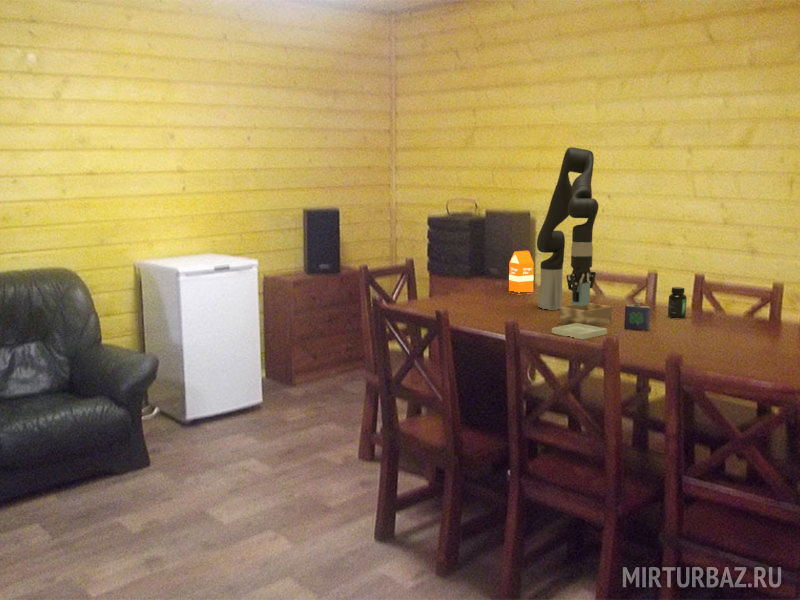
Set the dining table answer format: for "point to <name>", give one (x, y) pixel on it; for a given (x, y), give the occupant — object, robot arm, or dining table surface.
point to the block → (583, 294)
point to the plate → (579, 331)
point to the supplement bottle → (677, 303)
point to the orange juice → (521, 272)
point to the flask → (637, 317)
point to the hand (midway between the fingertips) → (580, 300)
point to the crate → (586, 314)
